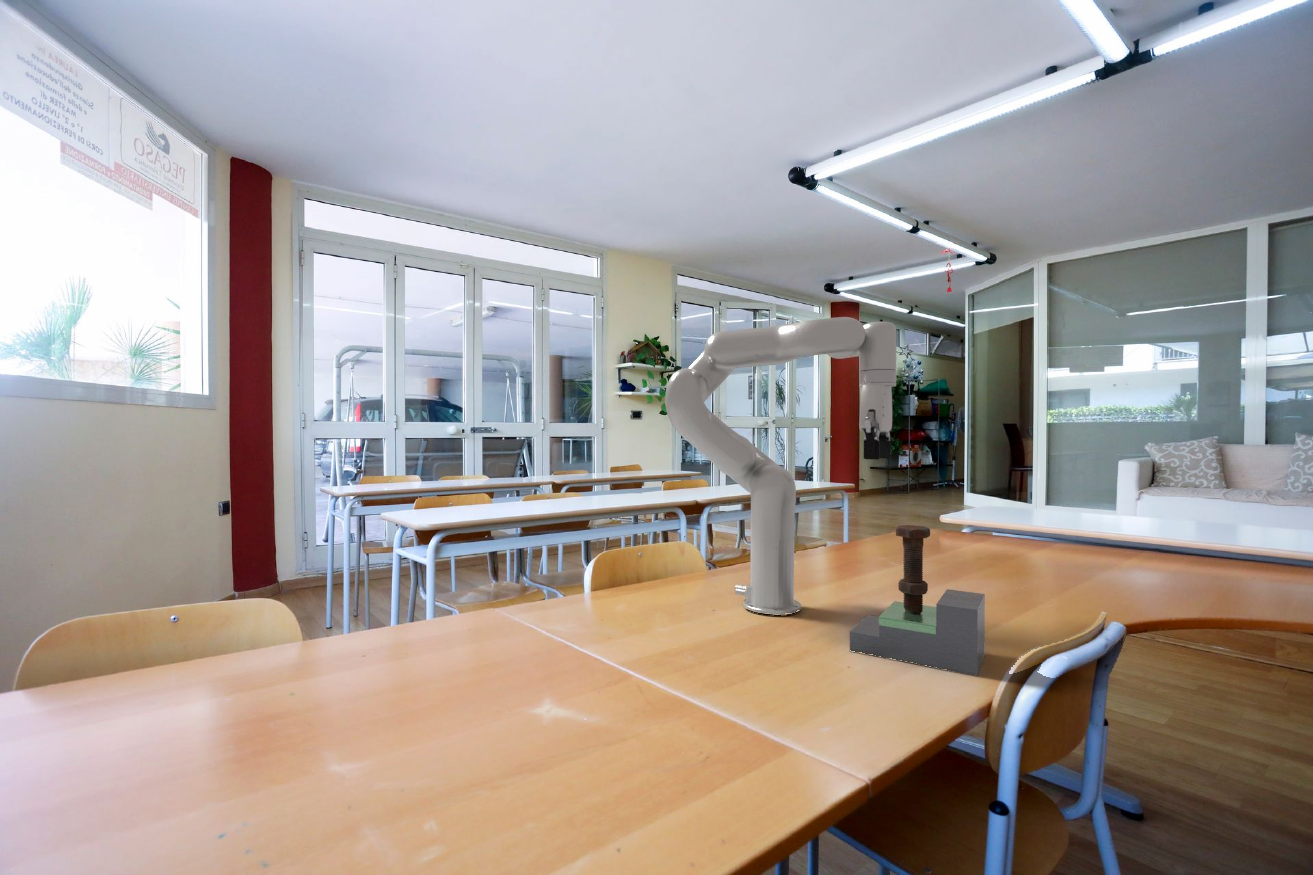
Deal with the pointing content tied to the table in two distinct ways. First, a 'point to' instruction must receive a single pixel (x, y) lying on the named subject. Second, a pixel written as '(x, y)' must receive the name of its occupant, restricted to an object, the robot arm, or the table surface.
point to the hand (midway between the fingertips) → (877, 458)
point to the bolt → (913, 567)
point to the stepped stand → (928, 633)
